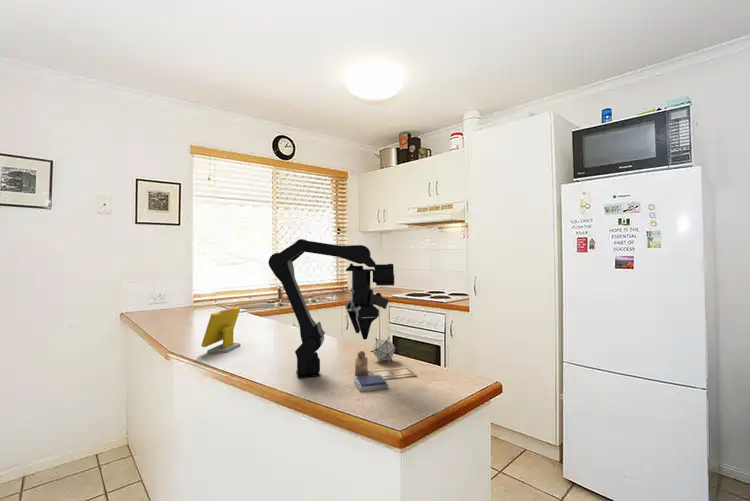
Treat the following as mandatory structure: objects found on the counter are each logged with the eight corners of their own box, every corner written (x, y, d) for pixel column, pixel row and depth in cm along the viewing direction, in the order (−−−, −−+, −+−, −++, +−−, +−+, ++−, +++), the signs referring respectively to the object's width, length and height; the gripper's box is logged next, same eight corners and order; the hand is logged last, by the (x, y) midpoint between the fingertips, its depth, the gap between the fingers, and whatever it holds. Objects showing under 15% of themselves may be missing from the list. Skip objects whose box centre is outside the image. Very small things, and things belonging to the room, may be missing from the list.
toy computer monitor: (228, 342, 164) (228, 305, 164) (246, 343, 163) (245, 305, 163) (201, 355, 144) (200, 312, 144) (220, 355, 143) (220, 313, 143)
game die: (388, 373, 132) (394, 354, 127) (365, 363, 134) (370, 343, 128) (396, 354, 139) (402, 336, 134) (374, 345, 141) (379, 326, 135)
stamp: (356, 377, 117) (356, 353, 117) (353, 373, 121) (353, 350, 121) (369, 375, 118) (369, 352, 118) (366, 371, 122) (365, 349, 122)
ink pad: (359, 391, 104) (359, 385, 104) (354, 383, 111) (354, 377, 111) (388, 388, 106) (388, 382, 106) (380, 380, 113) (380, 374, 113)
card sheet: (375, 380, 113) (375, 379, 113) (367, 371, 122) (367, 370, 122) (416, 376, 117) (416, 375, 117) (406, 367, 125) (406, 366, 125)
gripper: (395, 287, 113) (395, 341, 113) (377, 282, 131) (377, 329, 131) (358, 288, 110) (358, 343, 110) (345, 283, 128) (345, 330, 128)
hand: (361, 336), depth 119 cm, fingers open, 9 cm apart
